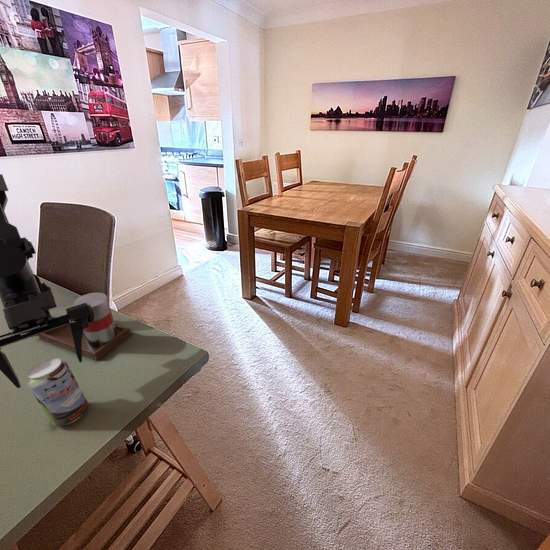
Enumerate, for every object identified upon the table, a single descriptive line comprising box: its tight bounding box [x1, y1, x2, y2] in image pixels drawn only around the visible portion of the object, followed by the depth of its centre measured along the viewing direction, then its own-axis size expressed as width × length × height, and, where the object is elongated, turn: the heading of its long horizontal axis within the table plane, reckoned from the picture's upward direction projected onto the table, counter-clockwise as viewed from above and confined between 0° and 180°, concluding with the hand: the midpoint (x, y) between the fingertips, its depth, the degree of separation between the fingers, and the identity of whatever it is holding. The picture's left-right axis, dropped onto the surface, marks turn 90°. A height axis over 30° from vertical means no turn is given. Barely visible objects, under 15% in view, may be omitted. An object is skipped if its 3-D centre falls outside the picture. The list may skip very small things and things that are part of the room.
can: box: [73, 292, 117, 350], centre depth 71 cm, size 7×7×12 cm
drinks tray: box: [37, 322, 132, 362], centre depth 76 cm, size 19×10×2 cm, turn 68°
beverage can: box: [26, 357, 89, 427], centre depth 54 cm, size 6×7×12 cm
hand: (51, 374), depth 53 cm, fingers open, 9 cm apart
